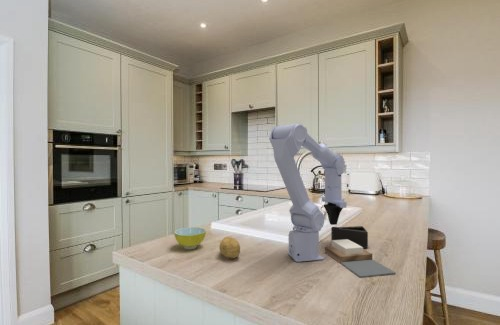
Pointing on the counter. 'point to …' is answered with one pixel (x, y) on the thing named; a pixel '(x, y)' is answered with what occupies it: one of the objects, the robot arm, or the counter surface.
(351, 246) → the cream rectangular tile
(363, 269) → the mat
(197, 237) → the bowl
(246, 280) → the counter surface
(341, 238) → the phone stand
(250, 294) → the counter surface
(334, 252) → the brown block
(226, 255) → the potato
